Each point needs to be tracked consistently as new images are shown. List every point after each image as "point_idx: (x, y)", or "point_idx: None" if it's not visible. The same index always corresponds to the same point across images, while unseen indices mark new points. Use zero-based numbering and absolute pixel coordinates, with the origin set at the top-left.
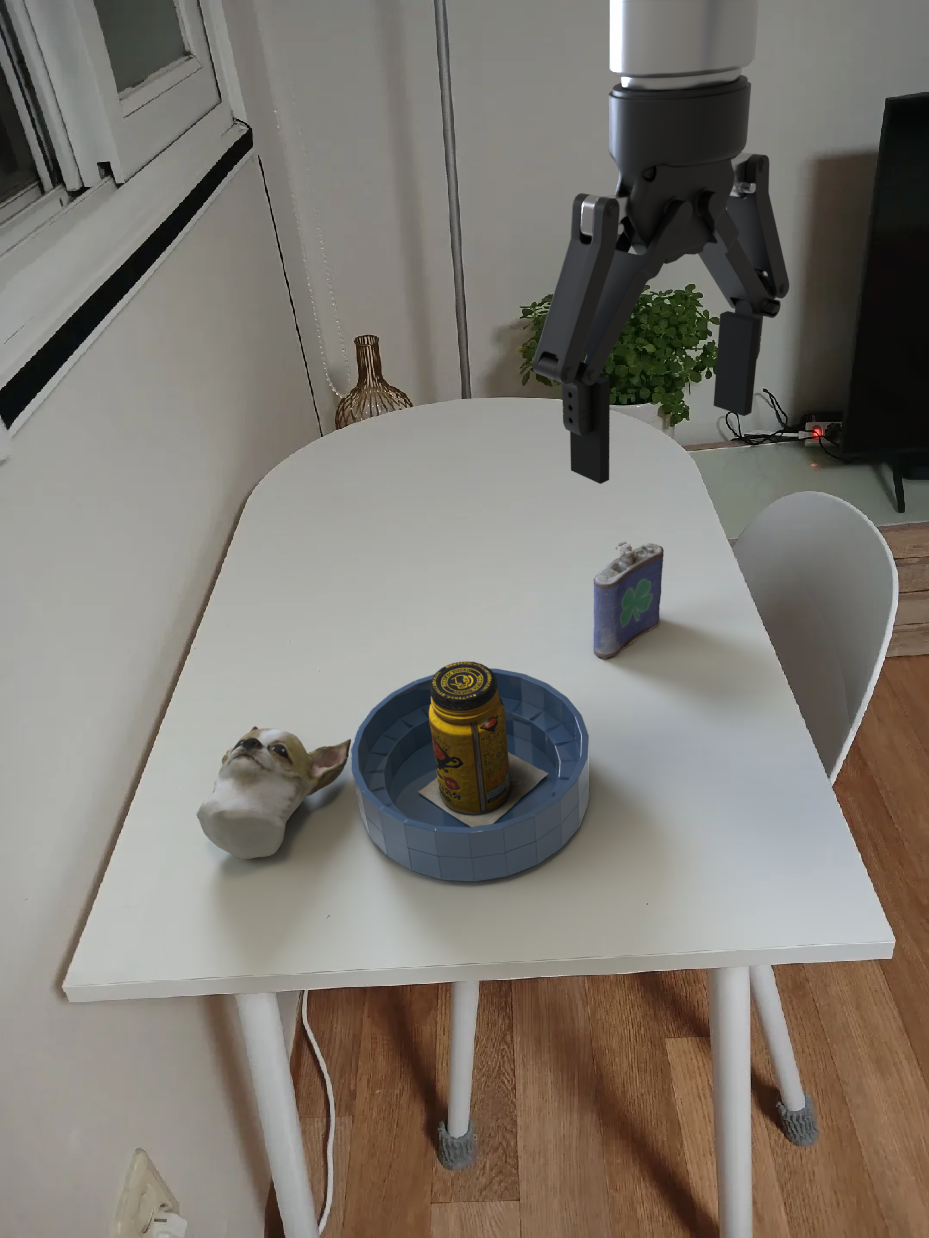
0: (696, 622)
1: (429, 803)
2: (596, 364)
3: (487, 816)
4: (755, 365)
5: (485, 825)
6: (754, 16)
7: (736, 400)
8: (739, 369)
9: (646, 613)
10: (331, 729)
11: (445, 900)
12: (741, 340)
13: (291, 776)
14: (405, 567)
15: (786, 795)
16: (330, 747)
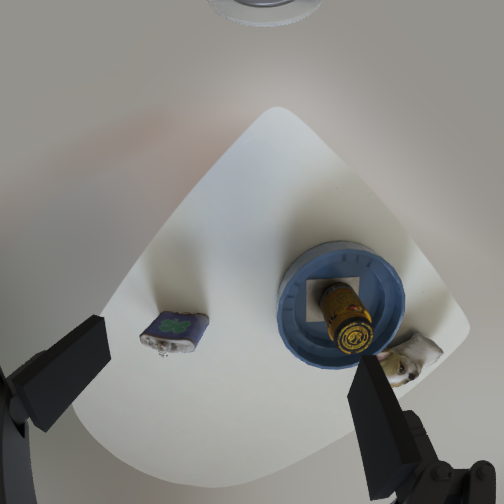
0: (148, 295)
1: None
2: (433, 488)
3: (349, 282)
4: (55, 344)
5: (385, 265)
6: None
7: (96, 338)
8: (72, 359)
9: (169, 318)
10: (343, 376)
11: (392, 262)
12: (47, 383)
13: (404, 355)
14: (227, 427)
15: (227, 177)
16: None
